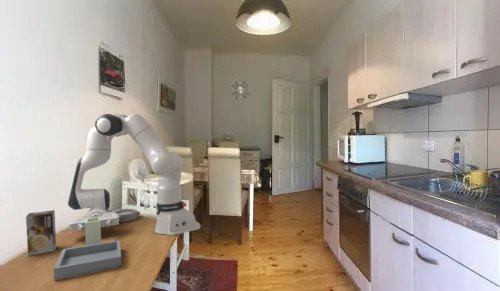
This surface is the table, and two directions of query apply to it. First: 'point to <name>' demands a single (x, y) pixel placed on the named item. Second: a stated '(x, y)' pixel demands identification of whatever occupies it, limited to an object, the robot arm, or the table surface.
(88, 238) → the small tall open container
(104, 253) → the grey tray
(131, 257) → the table surface
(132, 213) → the dish
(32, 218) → the coffee box
